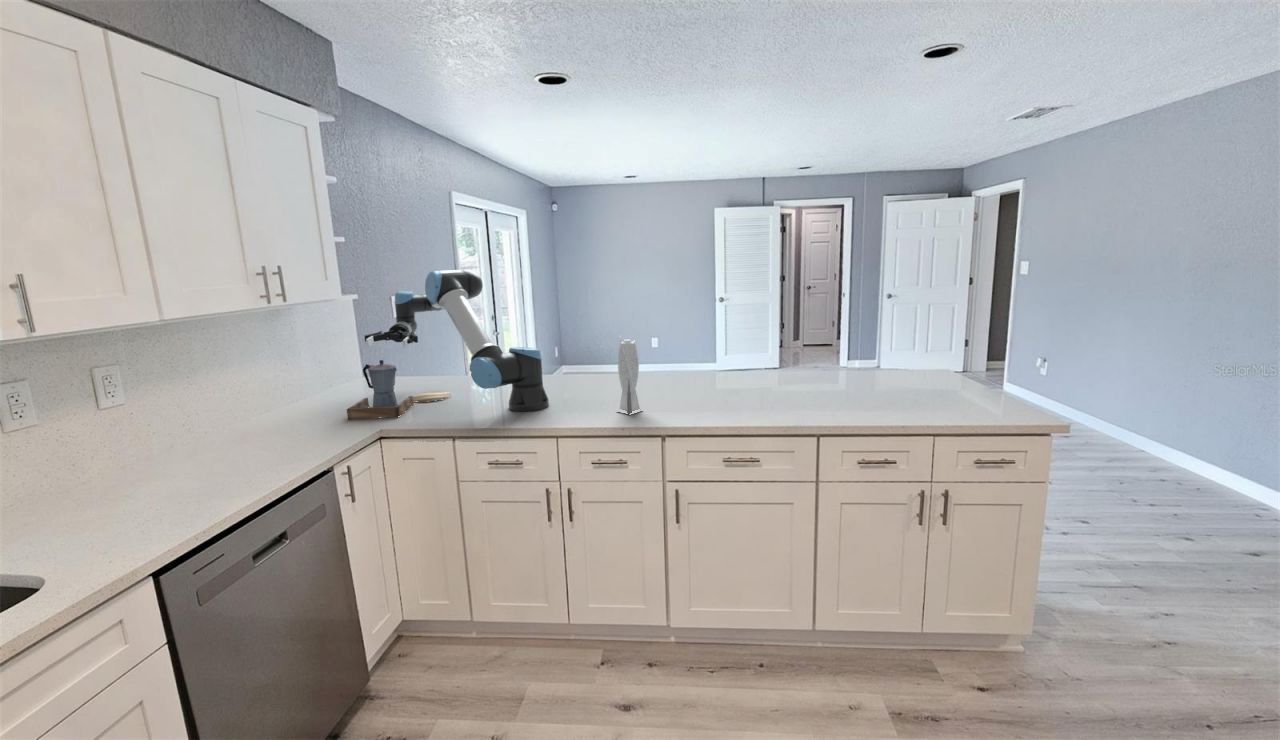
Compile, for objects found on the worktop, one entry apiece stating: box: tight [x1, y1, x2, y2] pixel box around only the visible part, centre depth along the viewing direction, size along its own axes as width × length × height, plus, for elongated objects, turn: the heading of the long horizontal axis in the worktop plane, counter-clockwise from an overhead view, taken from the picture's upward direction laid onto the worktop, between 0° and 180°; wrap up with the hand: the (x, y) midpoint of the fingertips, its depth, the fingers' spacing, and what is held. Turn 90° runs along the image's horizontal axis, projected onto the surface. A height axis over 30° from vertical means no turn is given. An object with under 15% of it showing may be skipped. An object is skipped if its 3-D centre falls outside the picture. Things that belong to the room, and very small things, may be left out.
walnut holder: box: [346, 395, 415, 421], centre depth 215 cm, size 17×18×4 cm
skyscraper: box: [617, 334, 641, 414], centre depth 205 cm, size 8×8×28 cm
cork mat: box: [412, 390, 452, 402], centre depth 236 cm, size 16×16×1 cm
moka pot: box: [362, 359, 398, 407], centre depth 216 cm, size 10×15×20 cm, turn 78°
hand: (385, 343), depth 220 cm, fingers open, 13 cm apart
